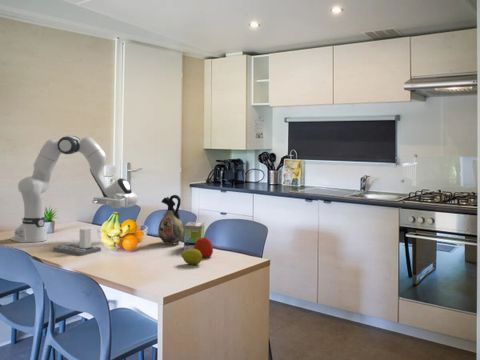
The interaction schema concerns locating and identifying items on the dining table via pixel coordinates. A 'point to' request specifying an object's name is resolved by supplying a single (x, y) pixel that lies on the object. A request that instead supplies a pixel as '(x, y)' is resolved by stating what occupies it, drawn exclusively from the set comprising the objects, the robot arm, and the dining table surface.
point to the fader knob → (85, 238)
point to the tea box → (192, 234)
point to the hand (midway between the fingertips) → (99, 202)
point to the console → (76, 249)
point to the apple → (204, 247)
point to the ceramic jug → (171, 222)
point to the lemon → (192, 256)
